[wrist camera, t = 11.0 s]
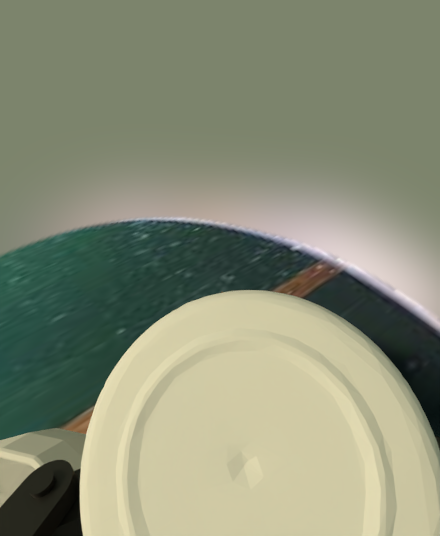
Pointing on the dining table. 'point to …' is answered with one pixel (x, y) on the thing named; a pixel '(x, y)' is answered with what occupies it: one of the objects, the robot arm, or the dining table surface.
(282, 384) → the sprinkles bottle
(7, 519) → the robot arm
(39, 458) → the cup
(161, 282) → the dining table surface
